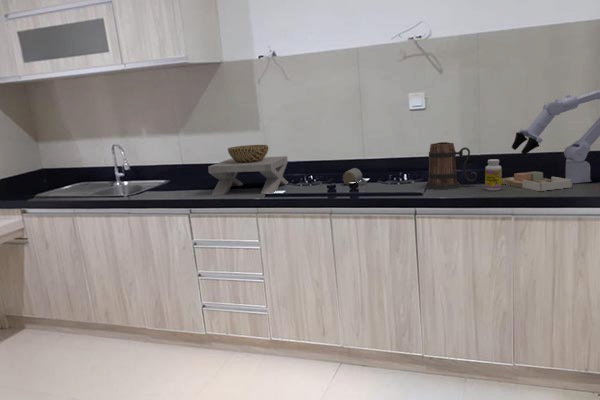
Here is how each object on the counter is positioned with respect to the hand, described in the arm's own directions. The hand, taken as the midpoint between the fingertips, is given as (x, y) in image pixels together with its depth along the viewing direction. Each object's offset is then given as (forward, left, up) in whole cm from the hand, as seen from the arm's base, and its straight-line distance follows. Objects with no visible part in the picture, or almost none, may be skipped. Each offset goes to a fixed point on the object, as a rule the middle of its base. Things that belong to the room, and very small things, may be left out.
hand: (517, 151), depth 239 cm
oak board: (-4, 0, -15) cm, 15 cm away
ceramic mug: (+60, -47, -15) cm, 77 cm away
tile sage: (-7, +2, -13) cm, 15 cm away
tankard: (+26, -13, -15) cm, 33 cm away
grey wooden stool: (+109, -67, -15) cm, 129 cm away
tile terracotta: (-1, +2, -13) cm, 13 cm away
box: (-4, +14, -15) cm, 21 cm away
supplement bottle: (+15, +4, -15) cm, 22 cm away
